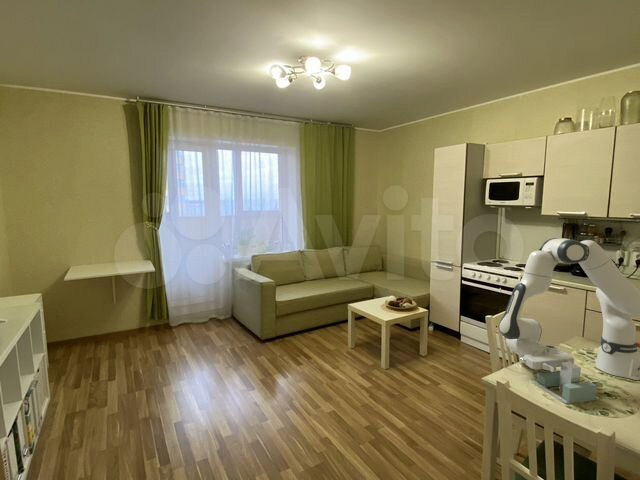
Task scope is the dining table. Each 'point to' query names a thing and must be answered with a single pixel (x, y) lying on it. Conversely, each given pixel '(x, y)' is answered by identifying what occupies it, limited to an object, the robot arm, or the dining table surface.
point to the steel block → (569, 374)
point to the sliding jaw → (549, 379)
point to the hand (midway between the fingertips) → (564, 369)
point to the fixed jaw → (574, 392)
